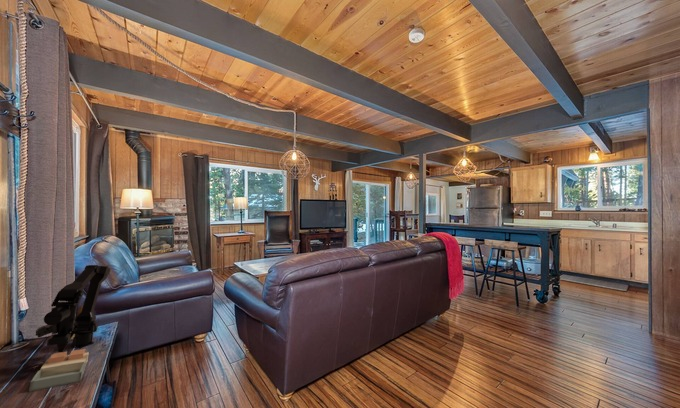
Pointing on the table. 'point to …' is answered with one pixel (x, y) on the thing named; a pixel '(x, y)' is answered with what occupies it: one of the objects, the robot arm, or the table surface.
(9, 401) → the table surface
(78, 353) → the tile
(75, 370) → the shallow cream tray
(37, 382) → the tray
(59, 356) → the tile
